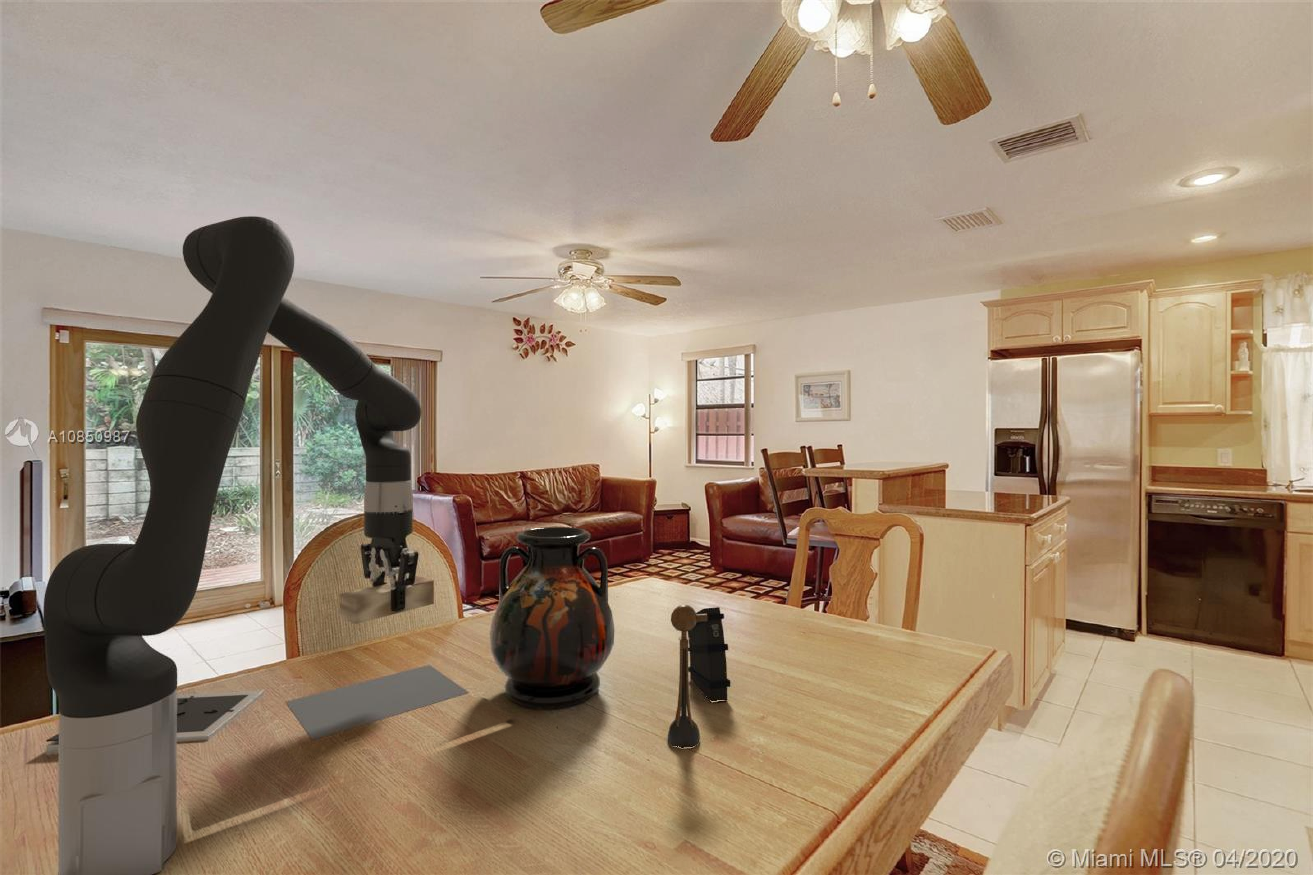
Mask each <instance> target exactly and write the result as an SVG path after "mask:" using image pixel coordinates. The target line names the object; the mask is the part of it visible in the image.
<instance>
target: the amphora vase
mask: <svg viewBox="0 0 1313 875" xmlns="http://www.w3.org/2000/svg"><path fill="white" fill-rule="evenodd" d="M515 539H516V541H518V543H520V544H521V545H525V546H526V548H527V550H524V549H523V548H522V547H521V546H514V545H513V546H509V547H508V548H506V549H505V550H504V552H503V554H502V556H501V558H500V559H499V560H500V561H499V562H500V563H499V569H498V570H499V574H498V576H499V577H498V578H499V591H498V592H499V593H498V594H499V595H498V599H499V600H498V604H497V607H496V609H495V612H494V614H493V616H492V619H491V625H490V631H489V641H490V642H489V643H490V644H489V646H490V650H491V654H492V657H493V659H494V662H495V664H496V665H497V667H498V668H499V669H500V671H501V672H502V673H503V674H504V675H505V676H506V677H508V678H507V680H506V681H505V685H504V690H505V691H504V692H505V694H506V696H507V697H508V698H509V699H510V700H512V701H513V702H514V703H515V704H518V705H521V706H525V707H528V708H531V709H532V708H533V709H543V710H544V709H559V708H566V707H570V706H575V705H577V704H579V703H582V702H584V701H587V700H589V699H590V698H591V697H592V696H594V695H595V694H596V692H597V691H598V689H599V688H600V685H601V678H600V676H599V674H598V671H600V669H602V667H603V665H604V664H605V663H606V661H607V660H608V659H609V656H610V655H611V653H612V650H613V647H614V644H615V624H614V616H613V612H612V609H611V607H610V604H609V579H608V578H609V576H608V575H609V573H608V561H607V560H608V559H607V557H606V556H605V553H604V551H603V550H602V549H600V548H598V547H597V546H596V547H595V546H591V547H587V548H585V549H584V550H582V551H581V552H580V553H579V551H580V546H581V545H582V544H584V543H586V542H587V541H589V540H590V539H591V533H590V532H589V531H587V530H586V529H582V528H576V527H566V526H565V527H560V526H559V527H557V526H556V527H554V526H553V527H540V528H539V527H537V528H531V529H526V530H522V531H521V532H519V533H517V535H516V536H515ZM513 554H515V555H518V556H519V558H521V560H522V564H523V566H522V567H523V569H522V570H521V571H520V572H519V573H518V575H517V576H516V577H514V579H513V580H512V581H511V582H510V583H509V579H508V566H509V561H510V560H509V559H510V557H511V555H513ZM589 555H594V556H595V557H596V558H597V560H598V562H599V567H600V582H599V584H600V585H599V584H598V582H597V581H596V580H595V578H594V577H593V576H592V575H591V573H589V571H587V569H586V568H585V567H584V564H585V558H586V557H587V556H589Z"/></svg>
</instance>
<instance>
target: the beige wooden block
mask: <svg viewBox="0 0 1313 875" xmlns="http://www.w3.org/2000/svg"><path fill="white" fill-rule="evenodd" d="M434 586H435V580H434V579H432V578H431V579H430V578H426V577H423V576H419V575H416V576H415V583H414V584H413V585H409V586H407V587H406V589H405V609H404V610H401V611H397V612H394V611H391V589H392V588H391V584H390V582H387V584H384V585H379V586H374V587H372V586H371V587H370V586H369V587H365V588H361V589H355V590H352V591H348V592H347V591H346V592H343V593H339V620H342V621H346V622H348V623H352V624H355V625H358V624H361V623H366V622H369V621H373V620H377V619H381V618H385V617H389V616H392V615H396V614H399V613H403V612H407V611H411V610H415V609H419V608H423V607H426V606H430V605H434V604H435V598H434V597H435V587H434Z"/></svg>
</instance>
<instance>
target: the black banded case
mask: <svg viewBox="0 0 1313 875" xmlns="http://www.w3.org/2000/svg"><path fill="white" fill-rule="evenodd" d="M696 614H707V616H708V620H707V621H703V622H696V625H695V626H694V628H693V629H692V630H690V631H687V637H688V638H689V640H688V652H689V666H688V673H689V679H690V680H692V681H693V682H694V683H693V682H692V681H691V682H692V683H693V684H694V685H695V686H696V687H697V689H700V690H701V691H702V692H703V693H702V692H701V691H700V690H699V691H700V692H701V693H702V694H703V695H704V696H705V697H706V696H707V697H706V699H707V698H708V699H709V700H711V701H717V700H727V701H728V688H730V687H731V680H730V679H729V678H728V669H727V665H728V664H727V655H726V651H729V644H728V643H725V634H724V627H723V619H725V614H724V613H721V609H720V606H718V607H717V606H716V607H708V608H707V607H706V608H702V609H701V610H698V611H697V612H696ZM708 699H707V700H708ZM709 700H708V701H709Z"/></svg>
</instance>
